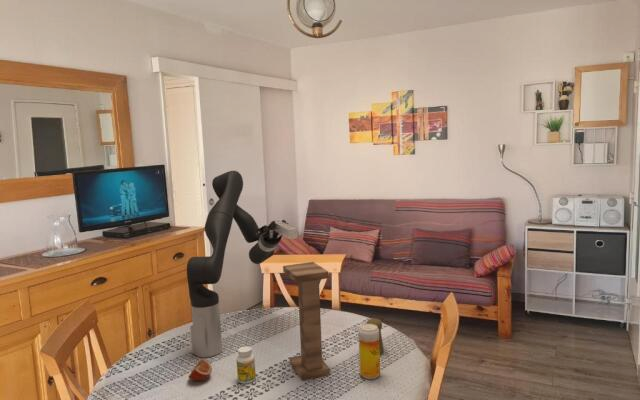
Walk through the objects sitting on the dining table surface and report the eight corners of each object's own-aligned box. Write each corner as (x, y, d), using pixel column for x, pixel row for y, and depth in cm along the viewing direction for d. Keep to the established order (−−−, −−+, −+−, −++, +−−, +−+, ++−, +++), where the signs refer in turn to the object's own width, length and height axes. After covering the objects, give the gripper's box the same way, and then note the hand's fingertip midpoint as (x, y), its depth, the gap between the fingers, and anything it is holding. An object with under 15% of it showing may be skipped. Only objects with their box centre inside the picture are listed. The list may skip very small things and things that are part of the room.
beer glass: (381, 379, 138) (380, 330, 137) (360, 380, 138) (359, 331, 137) (379, 369, 144) (377, 322, 143) (359, 370, 144) (357, 323, 143)
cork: (385, 355, 154) (384, 323, 153) (366, 355, 154) (365, 323, 153) (382, 347, 160) (382, 316, 159) (365, 347, 160) (364, 316, 159)
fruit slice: (194, 372, 148) (193, 357, 147) (215, 372, 147) (214, 356, 147) (185, 385, 139) (184, 369, 139) (207, 385, 139) (206, 369, 138)
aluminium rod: (272, 229, 170) (271, 221, 169) (280, 228, 171) (279, 220, 170) (288, 239, 151) (288, 230, 151) (297, 238, 152) (297, 229, 152)
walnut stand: (287, 363, 151) (283, 265, 147) (317, 357, 154) (313, 261, 151) (300, 381, 139) (296, 276, 135) (332, 374, 142) (328, 271, 139)
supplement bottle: (258, 376, 143) (257, 346, 142) (251, 385, 138) (249, 353, 137) (242, 374, 145) (240, 344, 144) (234, 383, 140) (232, 352, 139)
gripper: (249, 232, 179) (258, 214, 164) (285, 228, 184) (296, 211, 169) (253, 250, 177) (261, 234, 162) (288, 246, 182) (300, 230, 167)
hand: (279, 222), depth 166 cm, fingers closed on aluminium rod, 3 cm apart
